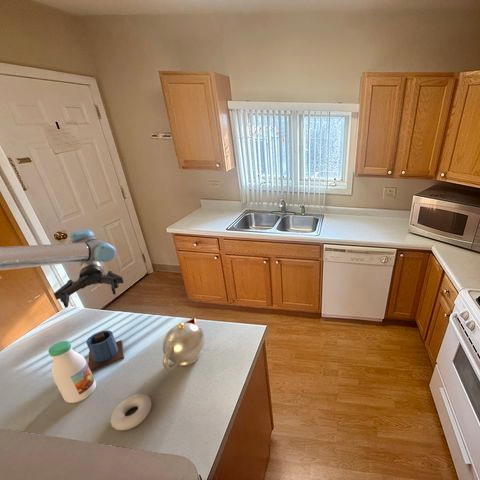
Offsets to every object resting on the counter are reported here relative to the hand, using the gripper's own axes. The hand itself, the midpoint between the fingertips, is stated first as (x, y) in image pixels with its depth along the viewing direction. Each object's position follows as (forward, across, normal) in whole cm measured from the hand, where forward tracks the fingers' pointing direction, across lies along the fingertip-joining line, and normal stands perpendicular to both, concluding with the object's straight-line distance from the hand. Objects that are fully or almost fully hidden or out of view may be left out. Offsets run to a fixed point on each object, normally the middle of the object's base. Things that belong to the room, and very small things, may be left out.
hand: (90, 297), depth 93 cm
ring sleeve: (+10, 0, -20) cm, 22 cm away
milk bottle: (+23, +7, -21) cm, 31 cm away
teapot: (+29, -23, -21) cm, 42 cm away
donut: (+40, -6, -21) cm, 46 cm away
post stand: (+10, 0, -20) cm, 23 cm away
